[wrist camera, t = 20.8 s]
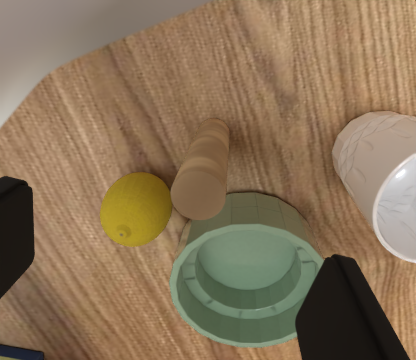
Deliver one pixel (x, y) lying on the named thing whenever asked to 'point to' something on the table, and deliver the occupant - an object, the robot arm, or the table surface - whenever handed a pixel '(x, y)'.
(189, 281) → the bowl
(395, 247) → the white cup
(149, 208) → the lemon
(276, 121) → the table surface
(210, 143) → the stick
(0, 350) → the protein box
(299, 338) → the robot arm
